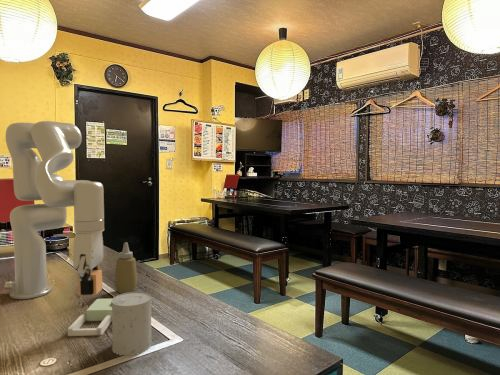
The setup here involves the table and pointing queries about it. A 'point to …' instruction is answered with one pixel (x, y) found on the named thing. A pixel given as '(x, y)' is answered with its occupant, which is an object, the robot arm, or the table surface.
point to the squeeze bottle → (125, 271)
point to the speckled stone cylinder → (131, 323)
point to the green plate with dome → (93, 319)
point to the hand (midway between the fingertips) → (90, 290)
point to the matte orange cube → (95, 281)
